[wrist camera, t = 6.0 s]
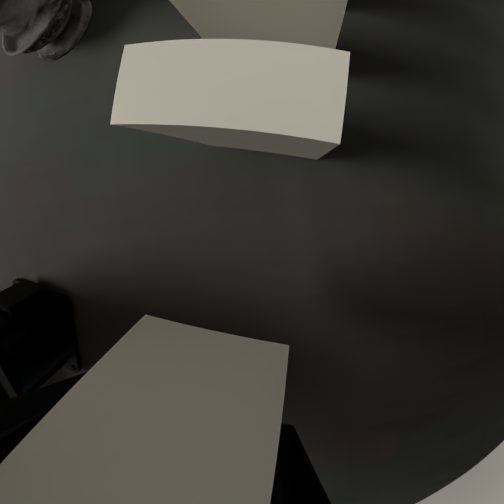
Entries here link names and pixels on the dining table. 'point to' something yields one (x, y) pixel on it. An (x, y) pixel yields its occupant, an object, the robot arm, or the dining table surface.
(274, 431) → the domino
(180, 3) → the domino
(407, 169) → the dining table surface
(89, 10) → the chess piece
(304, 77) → the domino
